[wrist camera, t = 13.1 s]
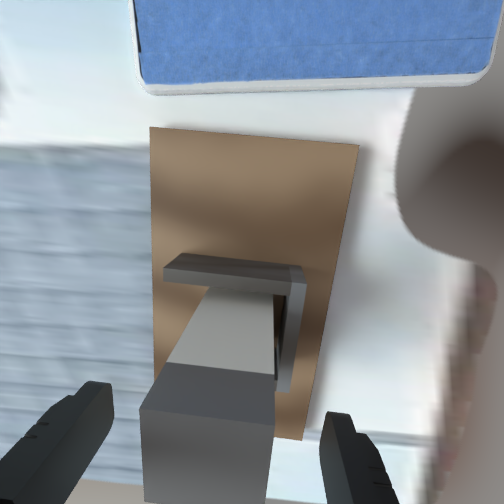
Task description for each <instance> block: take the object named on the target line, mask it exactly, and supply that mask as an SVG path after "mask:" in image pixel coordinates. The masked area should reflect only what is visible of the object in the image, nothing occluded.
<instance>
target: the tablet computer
mask: <svg viewBox="0 0 504 504" xmlns="http://www.w3.org/2000/svg"><path fill="white" fill-rule="evenodd" d="M128 5H129V15H130V23H131V33H132V41H133V51H134V61H135V70H136V78H137V80H138V82H139V84H140V85H141V87H142V88H143V90H144V91H145V92H147V93H148V94H151V95H156V96H160V95H185V94H206V93H233V92H271V91H303V90H341V89H371V88H407V87H449V86H450V87H454V86H455V87H457V86H468V85H472V84H474V83H476V82H478V81H479V80H480V79H481V78H482V77H483V76H484V75H485V74H486V73H487V72H488V71H489V69H490V68H491V66H492V63H493V60H494V55H495V51H496V47H497V41H498V37H499V32H500V28H501V24H502V18H503V13H504V0H128Z"/></svg>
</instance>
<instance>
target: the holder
mask: <svg viewBox="0 0 504 504" xmlns="http://www.w3.org/2000/svg"><path fill="white" fill-rule="evenodd" d="M358 150H359V145H352V144H341V143H329V142H318V141H306V140H295V139H284V138H272V137H261V136H250V135H238V134H227V133H216V132H204V131H193V130H181V129H170V128H159V127H150V178H151V230H152V281H153V333H154V382H155V380H156V379H157V377H158V375H159V373H160V372H161V370H162V368H163V366H164V365H165V363H166V361H167V359H168V358H169V356H170V354H171V352H172V351H173V349H174V347H175V345H176V344H177V342H178V340H179V339H180V337H181V335H182V333H183V332H184V330H185V328H186V326H187V325H188V323H189V321H190V319H191V318H192V316H193V314H194V312H195V311H196V309H197V307H198V305H199V304H200V302H201V300H202V299H203V297H204V295H205V293H206V292H207V290H208V288H209V287H215V288H224V289H233V290H241V291H250V292H259V293H268V294H273V326H274V385H275V431H274V437H278V438H285V439H293V440H300V441H302V438H303V433H304V428H305V423H306V418H307V412H308V407H309V402H310V397H311V392H312V387H313V382H314V376H315V371H316V366H317V361H318V356H319V351H320V346H321V340H322V335H323V330H324V325H325V320H326V315H327V310H328V304H329V299H330V294H331V289H332V284H333V279H334V274H335V268H336V263H337V258H338V253H339V248H340V243H341V238H342V232H343V227H344V222H345V217H346V212H347V207H348V202H349V196H350V191H351V186H352V181H353V176H354V171H355V166H356V160H357V155H358Z"/></svg>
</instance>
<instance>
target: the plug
mask: <svg viewBox="0 0 504 504" xmlns="http://www.w3.org/2000/svg"><path fill="white" fill-rule="evenodd" d="M139 413H140V430H141V448H142V466H143V483H144V501H145V502H150V503H157V504H265V498H266V490H267V483H268V475H269V468H270V461H271V453H272V446H273V438H274V431H275V385H274V326H273V294H268V293H259V292H250V291H241V290H233V289H224V288H215V287H209V288H208V290H207V292H206V293H205V295H204V297H203V299H202V300H201V302H200V304H199V305H198V307H197V309H196V311H195V312H194V314H193V316H192V318H191V319H190V321H189V323H188V325H187V326H186V328H185V330H184V332H183V333H182V335H181V337H180V339H179V340H178V342H177V344H176V345H175V347H174V349H173V351H172V352H171V354H170V356H169V358H168V359H167V361H166V363H165V365H164V366H163V368H162V370H161V372H160V373H159V375H158V377H157V379H156V380H155V382H154V384H153V385H152V387H151V389H150V391H149V392H148V394H147V396H146V398H145V399H144V401H143V403H142V405H141V406H140V408H139Z"/></svg>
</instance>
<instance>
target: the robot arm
mask: <svg viewBox="0 0 504 504" xmlns="http://www.w3.org/2000/svg"><path fill="white" fill-rule="evenodd" d="M113 420H114V406H113V394H112V386H111V384H110V383H103V382H95V381H88V382H86V383H85V384H84V385H83V386H82V387H81V388H80V389H79V391H78V392H77V393H76V394H75V395H74V396H72V395H68V396H66V397H65V398H63V399H62V400H60V401H59V402H57V403H56V404H54V405H53V406H51V407H50V408H49V409H48V411H47V412H46V413H45V414H44V415H43V416H42V417H41V418H40V419H39V420H38V421H37V423H36V425H33V426H32V427H31V428H30V429H29V431H28V432H27V433H26V434H25V436H24V437H23V438H21V439H20V440H19V441H18V442H17V443H16V444H15V445H14V446H13V447H12V448H11V449H10V450H9V452H8V453H7V454H6V455H5V456H4V457H3V458H2V459H1V460H0V504H64V503H65V502H66V500H67V498H68V497H69V495H70V494H71V492H72V491H73V489H74V487H75V486H76V484H77V483H78V481H79V479H80V478H81V476H82V475H83V473H84V471H85V470H86V468H87V467H88V465H89V464H90V462H91V460H92V459H93V457H94V456H95V454H96V452H97V451H98V449H99V448H100V446H101V444H102V443H103V441H104V440H105V438H106V436H107V435H108V433H109V431H110V429H111V427H112V424H113ZM319 455H320V464H321V470H322V476H323V481H324V487H325V493H326V498H327V504H399V501H398V499H397V496H396V494H395V491H394V489H392V484H391V481H390V479H389V476H388V474H387V473H386V470H385V466H384V464H383V461H382V459H381V456H380V454H379V451H378V449H377V448H376V447H375V445H374V444H373V443H372V441H371V440H370V439H369V437H368V436H367V435H366V434H363V433H356V430H355V427H354V424H353V421H352V419H351V416H350V415H349V414H345V413H337V412H329V411H328V412H327V413H326V416H325V421H324V425H323V430H322V434H321V439H320V446H319Z"/></svg>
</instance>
